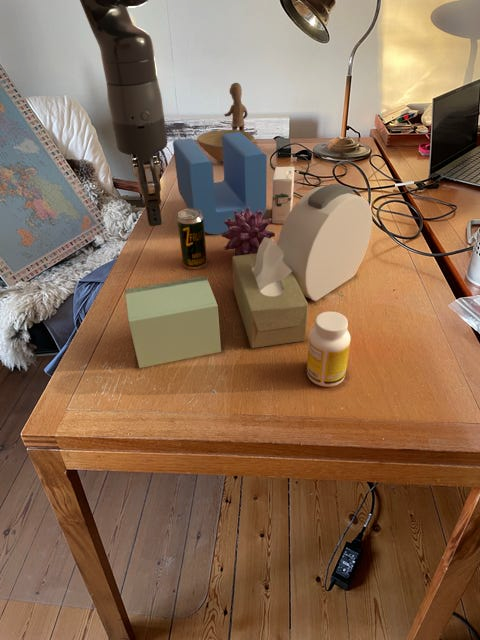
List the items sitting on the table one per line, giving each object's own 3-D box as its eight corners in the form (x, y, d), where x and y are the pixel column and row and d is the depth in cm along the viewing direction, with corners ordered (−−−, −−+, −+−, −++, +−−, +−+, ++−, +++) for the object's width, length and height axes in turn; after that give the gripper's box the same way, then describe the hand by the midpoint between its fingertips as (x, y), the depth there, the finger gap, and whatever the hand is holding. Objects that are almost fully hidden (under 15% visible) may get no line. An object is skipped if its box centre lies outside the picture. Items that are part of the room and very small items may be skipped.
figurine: (243, 139, 169) (241, 79, 157) (254, 144, 164) (254, 83, 152) (222, 144, 166) (219, 83, 153) (233, 149, 161) (231, 87, 148)
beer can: (180, 260, 103) (173, 211, 95) (202, 255, 104) (198, 206, 97) (187, 272, 99) (181, 221, 91) (210, 266, 100) (206, 216, 93)
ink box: (274, 209, 122) (275, 165, 115) (292, 209, 122) (294, 165, 114) (271, 223, 115) (272, 178, 108) (291, 224, 115) (293, 178, 107)
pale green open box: (139, 368, 76) (128, 321, 70) (134, 334, 83) (124, 289, 77) (221, 352, 79) (217, 305, 72) (210, 320, 85) (206, 275, 79)
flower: (219, 272, 101) (229, 237, 109) (273, 274, 99) (279, 238, 106) (211, 231, 93) (222, 196, 100) (270, 232, 90) (277, 196, 98)
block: (243, 197, 128) (241, 131, 117) (266, 225, 115) (266, 153, 104) (180, 208, 124) (172, 140, 113) (196, 238, 111) (189, 164, 100)
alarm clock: (336, 256, 102) (348, 168, 90) (365, 268, 98) (382, 178, 86) (272, 294, 90) (277, 198, 78) (302, 310, 86) (311, 211, 74)
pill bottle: (347, 365, 75) (356, 312, 68) (341, 392, 71) (350, 337, 64) (310, 357, 77) (315, 304, 70) (302, 383, 72) (306, 329, 65)
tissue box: (306, 342, 80) (312, 264, 70) (251, 350, 79) (250, 272, 69) (279, 283, 94) (281, 212, 85) (233, 289, 93) (229, 218, 83)
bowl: (252, 150, 159) (252, 126, 154) (256, 169, 145) (256, 144, 140) (199, 153, 159) (197, 129, 154) (198, 172, 145) (196, 147, 140)
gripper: (109, 106, 70) (130, 210, 81) (113, 130, 60) (136, 246, 71) (158, 101, 72) (171, 204, 83) (169, 124, 62) (183, 238, 73)
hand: (155, 223), depth 77 cm, fingers closed
